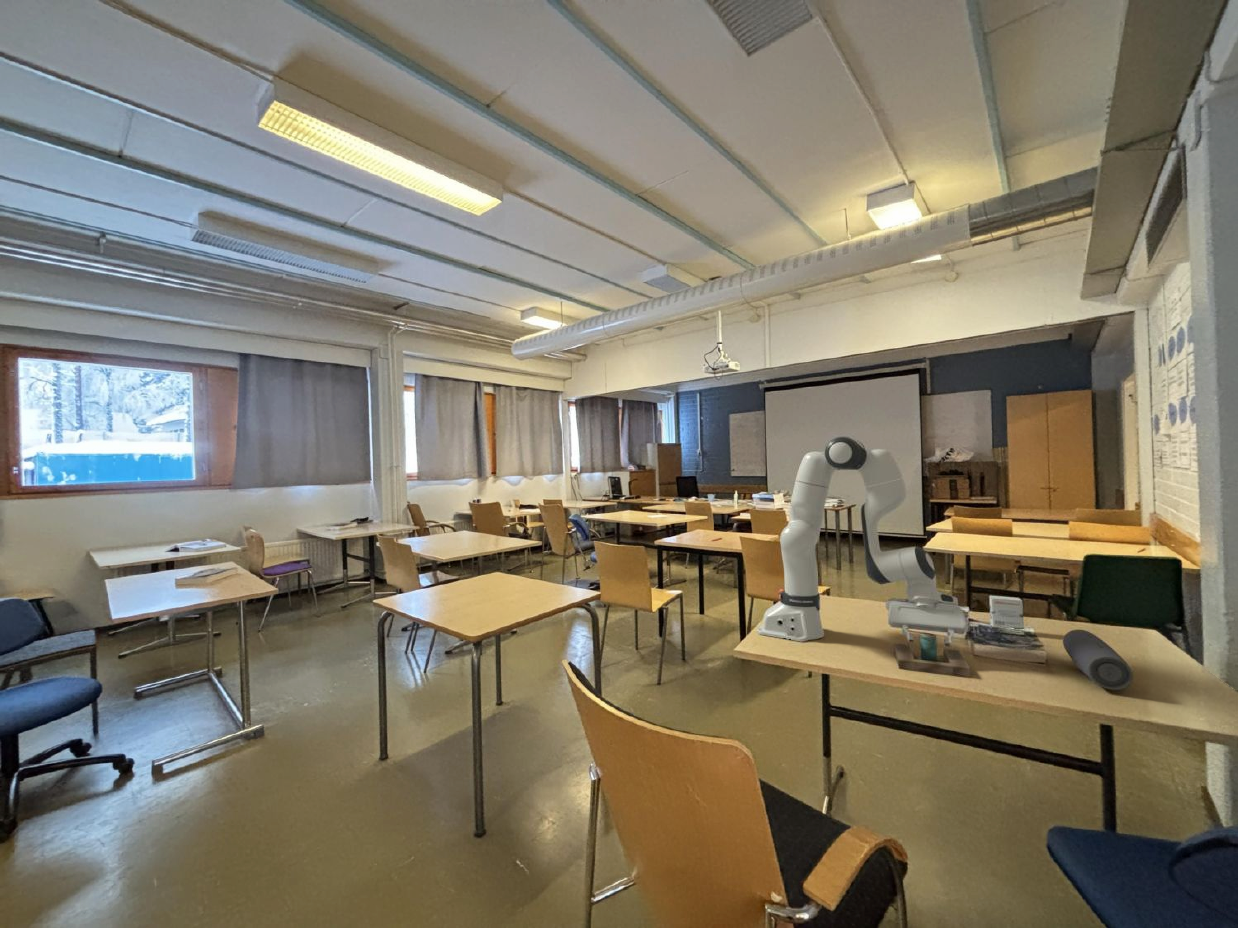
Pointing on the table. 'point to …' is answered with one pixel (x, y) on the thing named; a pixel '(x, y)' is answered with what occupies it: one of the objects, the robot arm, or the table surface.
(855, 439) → the robot arm
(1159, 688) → the table surface
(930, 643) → the bobbin
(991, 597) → the ink box
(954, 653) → the notched board
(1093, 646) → the bluetooth speaker
